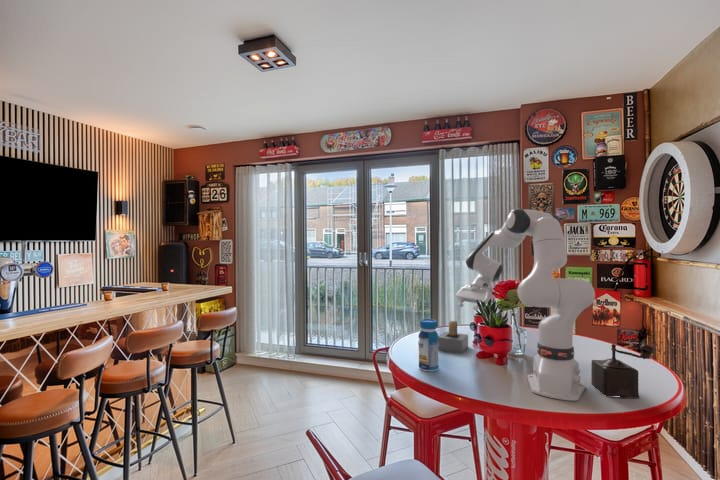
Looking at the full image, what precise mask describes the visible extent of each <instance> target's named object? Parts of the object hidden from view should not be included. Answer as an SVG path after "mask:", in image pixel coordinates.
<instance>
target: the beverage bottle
mask: <svg viewBox="0 0 720 480" xmlns="http://www.w3.org/2000/svg"><path fill="white" fill-rule="evenodd" d="M419 322H420V323H419V325H420V326H419V327H420V329H421V330H420V331H419V333H418V339H419V340H418V341H417V342H418V368H419V369H420V370H421V371H424V372H429V373H431V372H436V371H437V370H439V369H440V368H439V367H440V366H439V350H438V346H439V342H438V338H439V337H438V336H439V333H438V331H437V328H438V327H437V325H438V323H437V320H436V319H433V318H422V319H420V321H419Z"/></svg>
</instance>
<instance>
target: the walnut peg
mask: <svg viewBox="0 0 720 480" xmlns="http://www.w3.org/2000/svg"><path fill="white" fill-rule="evenodd" d="M448 332H449V337H453V338H457V333H458V321H456V320H449V321H448Z"/></svg>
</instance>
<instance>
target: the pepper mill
mask: <svg viewBox="0 0 720 480" xmlns="http://www.w3.org/2000/svg"><path fill="white" fill-rule="evenodd" d="M616 347H617V346H616V344H615V343H611V349H610V350H611V352H612V353H611V354H612V355H611V358H606V359H591V383H590V384H591V386H592V385H593V386H594V387H595V388H594V387H593V386H592V387H593V388H594V389H596V390H597V389H598V390H599V391H600V392H599V391H598V390H597V391H598V392H599V393H601V392H602V393H603V394H604V395H606V396H620V397H639V398H640V393H639V370H637V369H636V368H634V367H632V366H631V365H628V364H627V363H625V362H623V361H621V360H620V359H617V358H616V352H617V353H619V354H624V355H627V356H628V355H629V356H630V357H631V356H632V357H635V358H637V359H643V360H646V359H647V360H651V355H652V354H654V353H655V348H654V346H652V345H651V344H647V343H643V344H642V343H641V344H640V346H639V349H640V351H641V353H640V355H639V354H635V353H633V352H629V351H624V350H618V349H616ZM602 393H601V394H602ZM603 394H602V395H603ZM604 395H603V396H604ZM606 396H605V397H606Z"/></svg>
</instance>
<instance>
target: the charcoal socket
mask: <svg viewBox="0 0 720 480" xmlns="http://www.w3.org/2000/svg"><path fill="white" fill-rule="evenodd" d="M438 337H439V338H438V342H439V346H438V351H445V352H453V353H459V354H463V353H464V352H465V351H466V350H467V348H468V347H469V334H466V333H458V332H457V338H453V337H449V331H444V332H442V333H441V334H440V335H439V334H438Z"/></svg>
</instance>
